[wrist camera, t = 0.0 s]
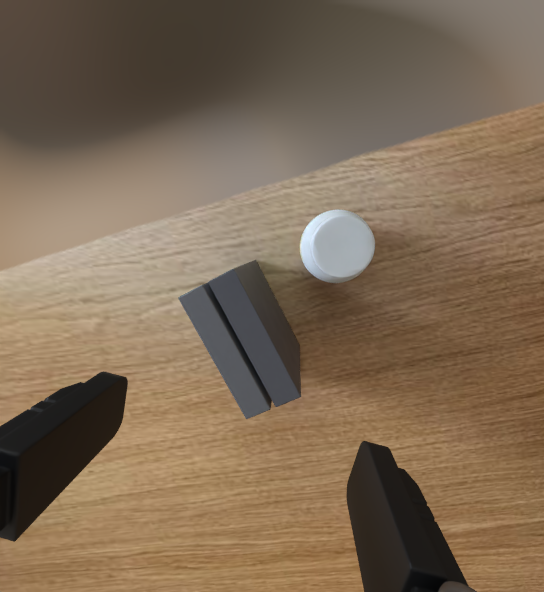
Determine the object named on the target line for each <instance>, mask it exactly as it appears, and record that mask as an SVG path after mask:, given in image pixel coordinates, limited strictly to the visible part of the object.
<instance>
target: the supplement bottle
mask: <svg viewBox="0 0 544 592" xmlns="http://www.w3.org/2000/svg"><path fill="white" fill-rule="evenodd" d="M299 249H300V256H301V259H302V261H303V263H304V265H305V267H306V268H307V270H308V271H309V272H310V273H311V274H312V275H314V276H315V277H316V278H318V279H320V280H322V281H325V282H329V283H342V282H346V281H349V280H352V279H354V278H355V277H357V276H358V275H360V274H361V273H362V272H363V271H364V270H365V268H366V267H367V266H368V265H369V263H370V262H371V260H372V257H373V255H374V251H375V239H374V236H373V233H372V231H371V229H370V228H369V226H368V224H367V223H366V222H365V221H364V220H363V219H362V218H361V217H360V216H358V215H357V214H355V213H353V212H350V211H347V210H330V211H327V212H324V213H322V214H320V215H318V216H317V217H315V218H314V219H313V220H312V221H311V222H310V223H309V224H308V226H307V227H306V229H305V230H304V232H303V234H302V236H301V239H300V245H299Z"/></svg>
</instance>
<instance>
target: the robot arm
mask: <svg viewBox="0 0 544 592" xmlns="http://www.w3.org/2000/svg"><path fill="white" fill-rule="evenodd" d="M127 384H128V381H127V378H126V377H123V376H119V375H115V374H112V373H108V372H101V373H99V374H97V375H96V376H94V377H93V378H91V379H90V380H88V381H87V382H85V383H82V382H80V383H77V384H74V385H71V386H68V387H65V388H62V389H60V390H59V391H57V392H55V393H54V394H52V395H50V396H49V397H47V398H46V399H45V400H44V401H41V402H39V403H37V404H36V405H34V406H33V407H31V409H30V410H26V411H24V412H23V413H21V414H20V415H18V416H16V417H15V418H13V419H12V420H10V421H8V422H7V423H5V424H3V425H2V426H0V537H1V538H4V539H8V540H11V541H14V542H15V541H16V540H17V539H18V538H19V537H20V535H21V534H22V533H23V532H24V531H25V530H26V529H27V528H28V527H29V526H30V525H31V524H32V523H33V522H34V521H35V520H36V519H37V517H38V516H39V515H40V514H41V513H42V512H43V511H44V510H45V509H46V508H47V507H48V506H49V505H50V504H51V503H52V502H53V501H54V500H55V498H56V497H57V496H58V495H59V494H60V493H61V492H62V491H63V490H64V489H65V488H66V487H67V486H68V485H69V484H70V483H71V482H72V481H73V479H74V478H75V477H76V476H77V475H78V474H79V473H80V472H81V471H82V470H83V469H84V468H85V467H86V466H87V465H88V464H89V463H90V461H91V460H92V459H93V458H94V457H95V456H96V455H97V454H98V453H99V452H100V451H101V450H102V449H103V448H104V447H105V446H106V445H107V444H108V442H109V441H110V440H111V439H112V438H113V437H114V436H115V434H116V433H117V431H118V429H119V427H120V425H121V423H122V419H123V414H124V407H125V399H126V392H127ZM347 505H348V510H349V515H350V520H351V525H352V530H353V535H354V541H355V546H356V551H357V556H358V561H359V566H360V571H361V577H362V582H363V587H364V592H477V591H475V590H474V589H472V588H470V587H469V586H468V584H467V582H466V580H465V578H464V576H463V574H462V572H461V570H460V568H459V566H458V564H457V562H456V560H455V558H454V556H453V554H452V552H451V550H450V548H449V546H448V544H447V542H446V540H445V538H444V536H443V534H442V532H441V530H440V528H439V526H438V524H437V522H435V521H434V516H433V514H432V512H431V510H430V508H429V507H428V506H427V502H426V500H425V498H424V496H423V494H422V492H421V490H420V488H419V486H418V485H417V484H416V483H415V481H414V480H413V479H412V478H411V477H410V476H409V474H408V473H407V472H406V471H405V470H404V469H401V468H398V466H397V464H396V462H395V460H394V458H393V455H392V453H391V451H390V449H389V448H388V447H385V446H382V445H378V444H374V443H370V442H367V441H363V442H362V443H361V445H360V447H359V450H358V453H357V456H356V459H355V462H354V465H353V468H352V471H351V474H350V477H349V480H348V484H347Z"/></svg>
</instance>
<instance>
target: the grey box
mask: <svg viewBox="0 0 544 592" xmlns="http://www.w3.org/2000/svg"><path fill="white" fill-rule="evenodd" d="M178 299H179V300H180V302H181V304H182V306H183V307H184V309H185V311H186V313H187V315H188V316H189V318H190V320H191V322H192V323H193V325H194V327H195V329H196V331H197V332H198V334H199V336H200V338H201V339H202V341H203V343H204V345H205V347H206V348H207V350H208V352H209V354H210V355H211V357H212V359H213V361H214V363H215V364H216V366H217V368H218V370H219V371H220V373H221V375H222V377H223V379H224V380H225V382H226V384H227V386H228V387H229V389H230V391H231V393H232V395H233V396H234V398H235V400H236V402H237V403H238V405H239V407H240V409H241V411H242V412H243V414H244V416H245V418H246V419H248V418H251V417H253V416H256V415H258V414H260V413H263V412H265V411H268V410H270V409H271V402H272V401H273V403H274V405H275V406H276V407H278V406H280V405H282V404H285V403H287V402H290V401H292V400H295V399H297V398H299V397H301V379H300V345H299V343H298V341H297V339H296V337H295V335H294V333H293V331H292V329H291V327H290V325H289V324H288V322H287V320H286V318H285V316H284V314H283V312H282V310H281V308H280V306H279V304H278V302H277V300H276V298H275V296H274V294H273V292H272V290H271V288H270V286H269V284H268V282H267V281H266V279H265V277H264V275H263V273H262V271H261V269H260V267H259V265H258V263H257V261H256V260H254V261H252V262H249V263H247V264H244V265H242V266H239V267H237V268H234V269H232V270H230V271H228V272H226V273H224V274H222V275H220V276H218V277H217V278H215V279H213V280H211V281H209V282H208V283H205V284H203V285H201V286H199V287H197V288H195V289H193V290H191V291H190V292H188V293H186V294H184V295H182V296H180V297H179V298H178Z"/></svg>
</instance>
